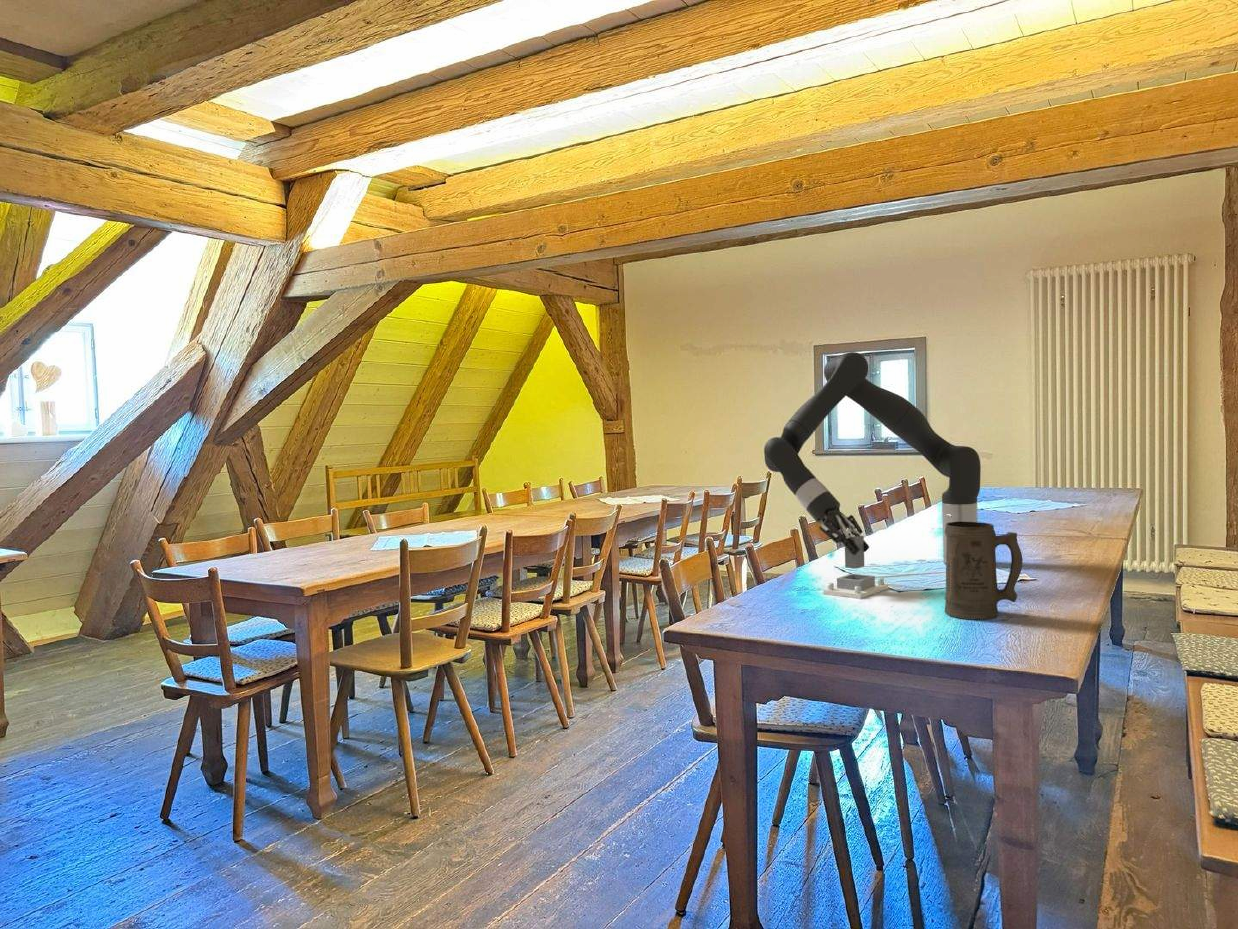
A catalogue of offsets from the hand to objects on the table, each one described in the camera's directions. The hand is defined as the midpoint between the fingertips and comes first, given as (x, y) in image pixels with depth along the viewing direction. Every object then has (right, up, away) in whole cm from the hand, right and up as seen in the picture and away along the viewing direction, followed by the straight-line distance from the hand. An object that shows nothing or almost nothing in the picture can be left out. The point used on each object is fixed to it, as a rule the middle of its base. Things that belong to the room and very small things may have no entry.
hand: (861, 551), depth 207 cm
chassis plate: (-1, -10, +2) cm, 10 cm away
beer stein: (+19, -11, -26) cm, 34 cm away
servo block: (-1, -4, +2) cm, 5 cm away
